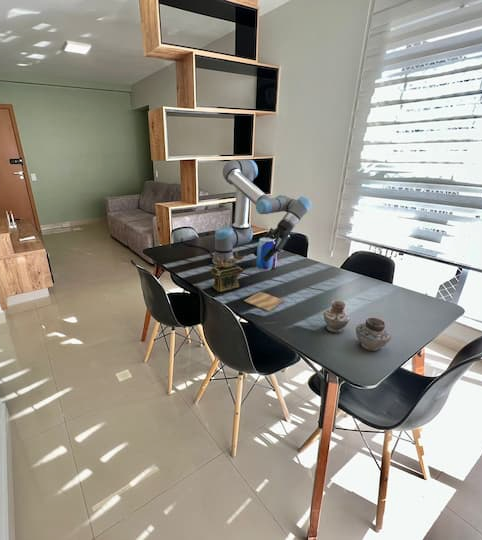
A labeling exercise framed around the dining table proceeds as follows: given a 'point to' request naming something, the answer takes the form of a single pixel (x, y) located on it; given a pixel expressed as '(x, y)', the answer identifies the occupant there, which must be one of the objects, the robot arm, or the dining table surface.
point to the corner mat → (264, 301)
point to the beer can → (264, 254)
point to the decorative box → (226, 274)
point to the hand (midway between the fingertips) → (259, 257)
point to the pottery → (358, 327)
